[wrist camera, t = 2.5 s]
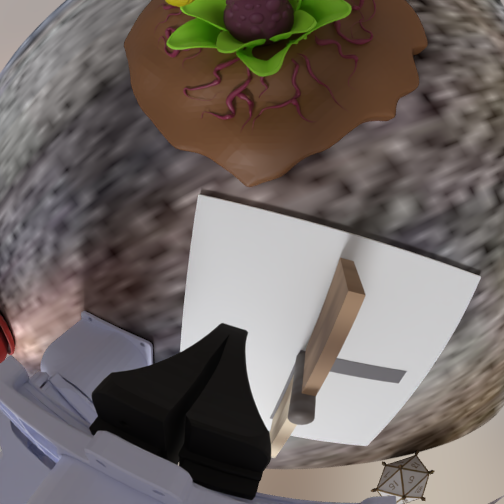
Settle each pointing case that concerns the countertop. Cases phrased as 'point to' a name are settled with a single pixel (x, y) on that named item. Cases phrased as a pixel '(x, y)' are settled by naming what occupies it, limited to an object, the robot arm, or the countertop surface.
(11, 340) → the plant pot
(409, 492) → the game die
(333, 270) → the card
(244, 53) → the plant
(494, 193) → the countertop surface
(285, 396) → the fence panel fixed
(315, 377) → the brown wooden board
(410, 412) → the countertop surface
